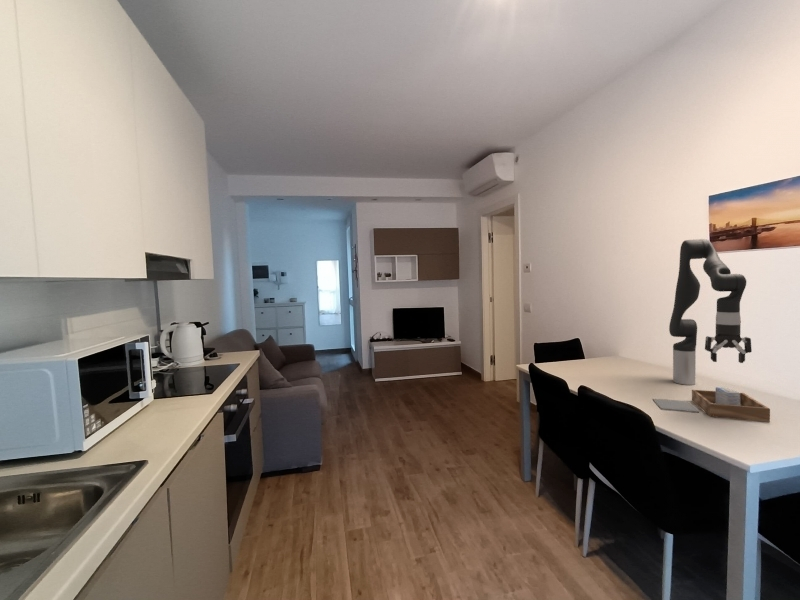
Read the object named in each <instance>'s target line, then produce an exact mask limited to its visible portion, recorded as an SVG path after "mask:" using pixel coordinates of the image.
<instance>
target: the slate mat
mask: <svg viewBox="0 0 800 600" xmlns="http://www.w3.org/2000/svg"><path fill="white" fill-rule="evenodd" d="M652 401H653V402H654V403H655V404H656V406H657V407H658V408H659V409H660V410H662V411H663V410H664V411H674V412H685V413H695V414H696V413H700V411H699V410H698V408H696V407H695V406H694V405H693V404H691V402H689V401H688V400H675V399H663V398H652Z"/></svg>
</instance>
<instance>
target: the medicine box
mask: <svg viewBox="0 0 800 600" xmlns="http://www.w3.org/2000/svg"><path fill="white" fill-rule="evenodd" d="M715 391H716V403H715V404H724V405H737V406H741V405H740V393H741V392H739V391H737V390H734V389H733V388H729V387H726V386H724V387H723V386H717V387H715Z"/></svg>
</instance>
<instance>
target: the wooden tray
mask: <svg viewBox="0 0 800 600" xmlns="http://www.w3.org/2000/svg"><path fill="white" fill-rule="evenodd" d="M739 393H740V406H737V405H724V404H716V390H707V389H706V390H705V389H691V402H693V403H694V404H695V405H696V406H697V407H699V408H700V410H702V411H703V412H704V413H706V414H707V415H708V416H709V417H711V418H724V419H735V420H745V421H746V420H747V421H757V422H766V423H767V422H768V423H770V422H771V409H770V408H769V407H768V406H766V405H764V404H763V403H761V402H759V401H758V400H756V399H754V398H753V397H751V396H749V395H748V394H746V393H744V392H739Z"/></svg>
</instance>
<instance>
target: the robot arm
mask: <svg viewBox="0 0 800 600" xmlns="http://www.w3.org/2000/svg"><path fill="white" fill-rule="evenodd" d="M698 259H699V260H700V259H705V260H704V262H703V264H702V265H703V266H702V268H703V271H704V273H705V274H706V275H707V276H708V277H709V279H710V284H711V288H712V290H714V291H716V292H720V293H721V292H724V293H725V292H730V293H729V295H727V296H723V297H719V298H717V299H716V314H715V336H708V335H707V336H705V340H704V341H705V342H704V343H705V344H704V350H705V351H707V352H710V360H711V362H713V363H717V361H718V360H717V357H718V356H717V354H718V353H717V352H718V351H719V350H720V349H721V348H725V349H726V348H730V349H735V350H737V351H738V352H739V353H738V363H740V364H744V362H746V354H748V353H752V339H751V338H750V337H748V336H745V337H741V322H742V320H741V301H742V297H743V294H744V291H745V289H746V286H747V279H746V277H745V275H743V274H740V273H731V269H730V268H729V267H728V266H727V264H725V263H724V262H723V261H722V260H721V259H720V256H719V254H718V253H717V250H716V249H715V247H714V245H713V244H712V242H711V241H710V240H709V239H705V238H704V239H703V238H700V239H698V238H697V239H686V240H684V241H682V243H681V244H680V250H679V268H678V274H677V275H678V277H677V281H676V285H675V287H676V289H675V292H674V293H675V296H674V304H673V310H672V313H671V318H670V320H669V326H668V327H669V328H668V331H669V335H670V336H671V337H674V338H684V339H683V340H682V341H679V342H675V343H673V345H672V382H674V383H676V384H678V385H679V384H680V385H686V386H694V385H696V369H697V368H696V366H697V365H696V363H697V362H696V357H697V356H696V352H697V351H696V348H697V340H698V338H697V336H698V324H697V322H696V320H694V319H691V318H683V316H684V315H685V313H686V311H687V310H688V309H690V307H691V306H692V305H693V304H695V303H696V301H697V300H698V299H699V295H700V292H701V291H700V290H701V284H700V281H699V279H698V277H697V276H696V275H695V274H694V272H693V270H692V268H691V260H698ZM714 341H715V344H713V346H712V343H713V342H714ZM741 342H742V343H743V344H744V348H743V347H742V346H741V345H740V343H741Z"/></svg>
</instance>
